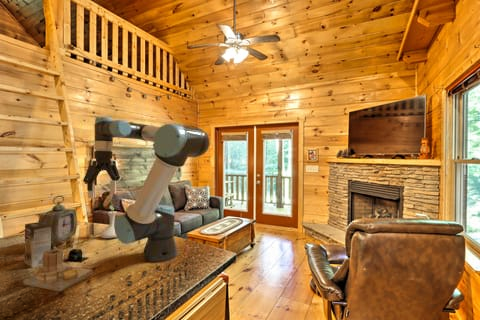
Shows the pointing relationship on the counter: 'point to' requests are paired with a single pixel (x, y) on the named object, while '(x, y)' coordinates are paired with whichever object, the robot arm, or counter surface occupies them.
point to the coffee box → (36, 242)
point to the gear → (52, 265)
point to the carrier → (60, 279)
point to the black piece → (76, 256)
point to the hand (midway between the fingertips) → (102, 195)
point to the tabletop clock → (60, 222)
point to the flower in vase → (110, 230)
